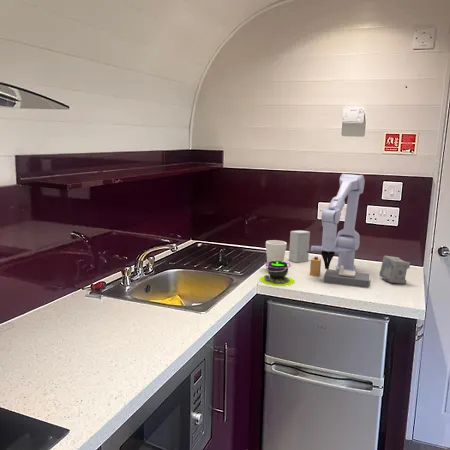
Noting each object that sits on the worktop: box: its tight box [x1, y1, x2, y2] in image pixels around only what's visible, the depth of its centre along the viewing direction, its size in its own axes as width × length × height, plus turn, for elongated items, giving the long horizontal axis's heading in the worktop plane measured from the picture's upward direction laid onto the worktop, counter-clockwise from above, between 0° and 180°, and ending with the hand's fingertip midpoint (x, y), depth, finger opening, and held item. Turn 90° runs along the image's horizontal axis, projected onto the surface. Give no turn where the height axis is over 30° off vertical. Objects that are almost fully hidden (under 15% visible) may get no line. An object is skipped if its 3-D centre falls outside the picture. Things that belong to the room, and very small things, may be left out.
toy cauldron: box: [259, 255, 296, 287], centre depth 197 cm, size 15×15×11 cm
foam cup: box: [265, 239, 288, 265], centre depth 212 cm, size 10×9×13 cm
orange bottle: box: [309, 256, 322, 277], centre depth 208 cm, size 4×4×8 cm
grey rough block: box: [379, 255, 411, 285], centre depth 201 cm, size 10×8×10 cm
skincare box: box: [288, 229, 311, 264], centre depth 230 cm, size 8×6×15 cm
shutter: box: [338, 265, 356, 277], centre depth 198 cm, size 7×7×3 cm
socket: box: [323, 268, 370, 289], centre depth 199 cm, size 11×18×3 cm, turn 71°
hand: (326, 268), depth 201 cm, fingers closed
